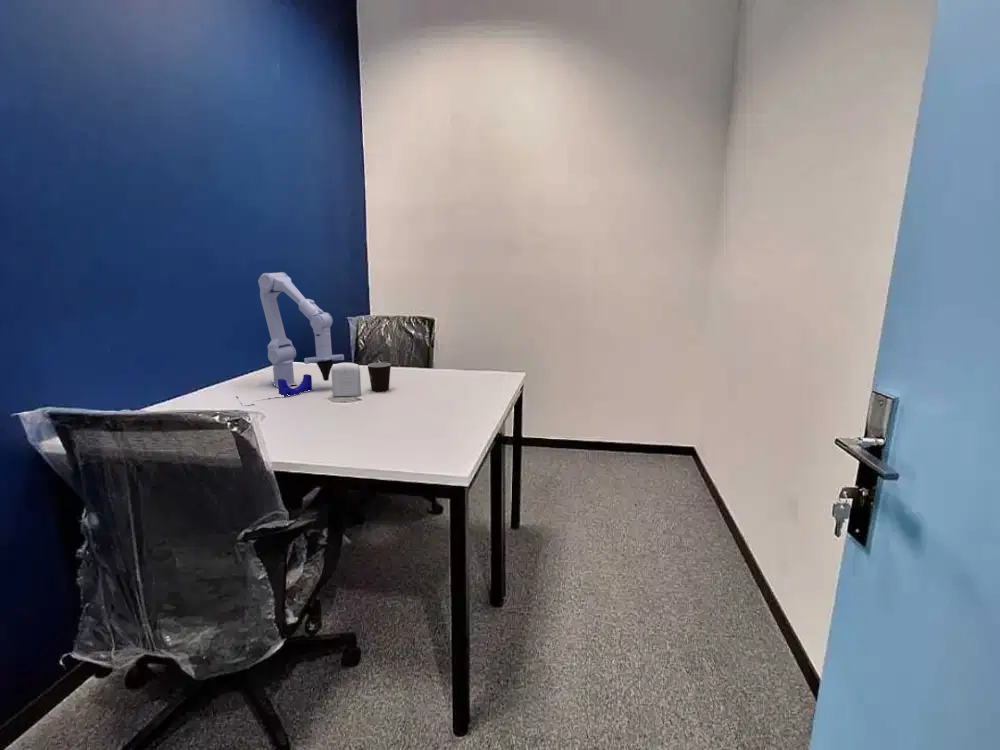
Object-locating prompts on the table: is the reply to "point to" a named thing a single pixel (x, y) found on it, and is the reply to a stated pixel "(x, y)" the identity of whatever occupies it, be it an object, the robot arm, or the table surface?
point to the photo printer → (346, 379)
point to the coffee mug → (379, 376)
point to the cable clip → (304, 386)
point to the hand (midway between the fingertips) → (326, 380)
